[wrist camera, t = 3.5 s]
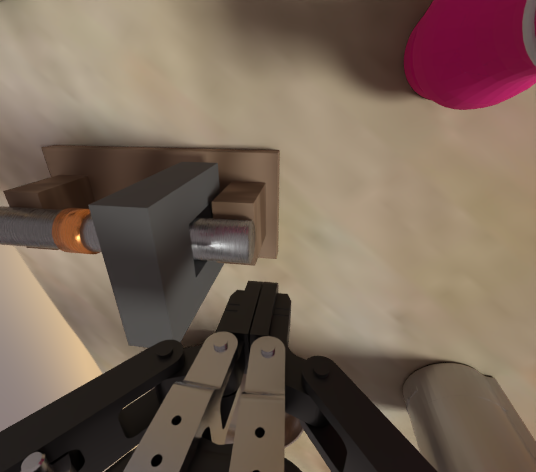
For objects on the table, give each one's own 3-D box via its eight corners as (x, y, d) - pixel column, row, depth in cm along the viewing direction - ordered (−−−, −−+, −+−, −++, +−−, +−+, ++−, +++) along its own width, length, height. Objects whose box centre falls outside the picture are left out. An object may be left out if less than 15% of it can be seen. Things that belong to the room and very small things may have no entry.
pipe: (255, 210, 21) (245, 230, 18) (256, 251, 22) (246, 276, 19) (15, 198, 23) (-30, 213, 20) (30, 235, 25) (-10, 254, 22)
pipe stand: (279, 150, 25) (267, 167, 18) (277, 251, 29) (267, 293, 23) (54, 145, 28) (-22, 158, 21) (83, 237, 32) (27, 271, 26)
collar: (217, 162, 22) (147, 208, 13) (225, 261, 26) (175, 351, 17) (181, 161, 23) (88, 204, 13) (194, 259, 27) (128, 345, 17)
